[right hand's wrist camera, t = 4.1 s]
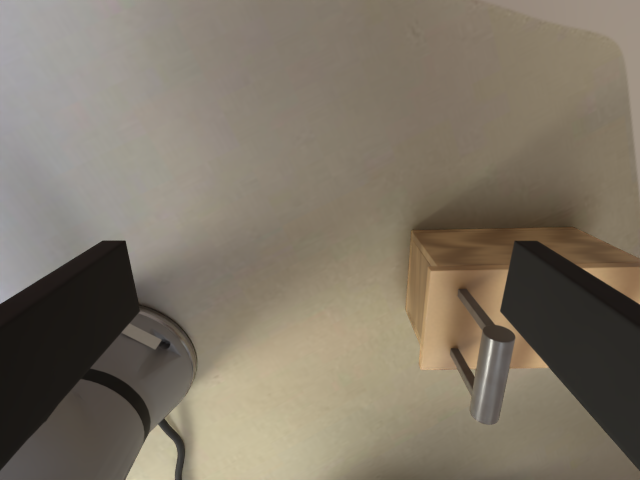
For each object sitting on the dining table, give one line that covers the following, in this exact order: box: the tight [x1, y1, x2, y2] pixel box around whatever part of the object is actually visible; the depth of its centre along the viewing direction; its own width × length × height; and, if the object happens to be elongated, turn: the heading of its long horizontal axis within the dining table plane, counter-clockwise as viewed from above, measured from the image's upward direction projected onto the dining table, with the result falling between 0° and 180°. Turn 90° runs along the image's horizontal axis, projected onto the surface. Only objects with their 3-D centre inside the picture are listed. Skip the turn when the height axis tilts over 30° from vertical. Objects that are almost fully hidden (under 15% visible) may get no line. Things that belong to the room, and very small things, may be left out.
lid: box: [419, 262, 640, 425], centre depth 27 cm, size 18×10×8 cm, turn 91°
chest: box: [406, 227, 640, 345], centre depth 35 cm, size 17×10×9 cm, turn 91°
